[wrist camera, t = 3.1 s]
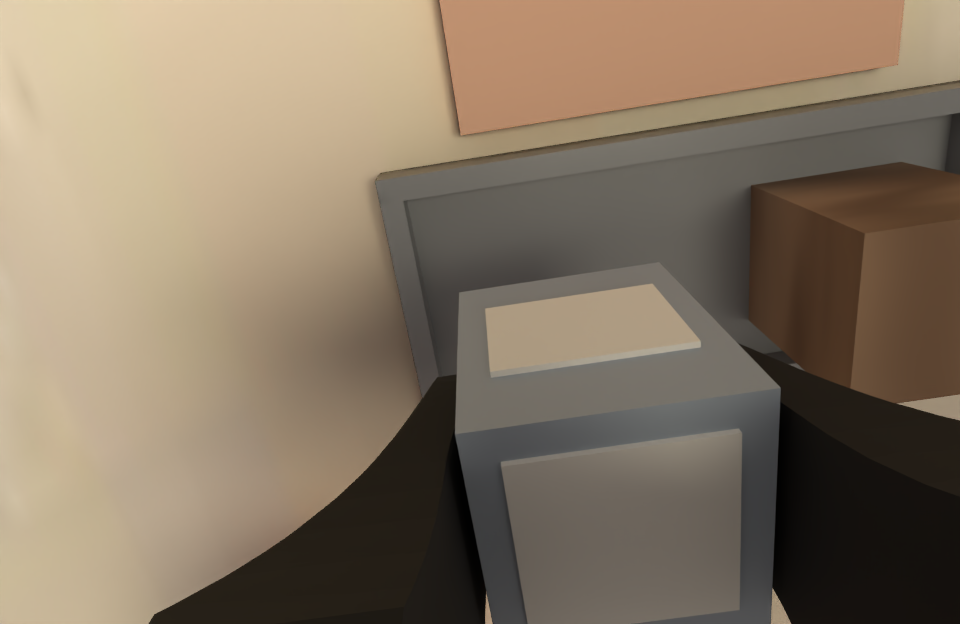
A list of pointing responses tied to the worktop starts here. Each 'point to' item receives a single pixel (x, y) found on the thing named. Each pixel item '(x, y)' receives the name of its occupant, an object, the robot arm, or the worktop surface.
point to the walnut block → (862, 277)
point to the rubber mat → (648, 51)
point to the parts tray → (635, 206)
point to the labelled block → (615, 453)
